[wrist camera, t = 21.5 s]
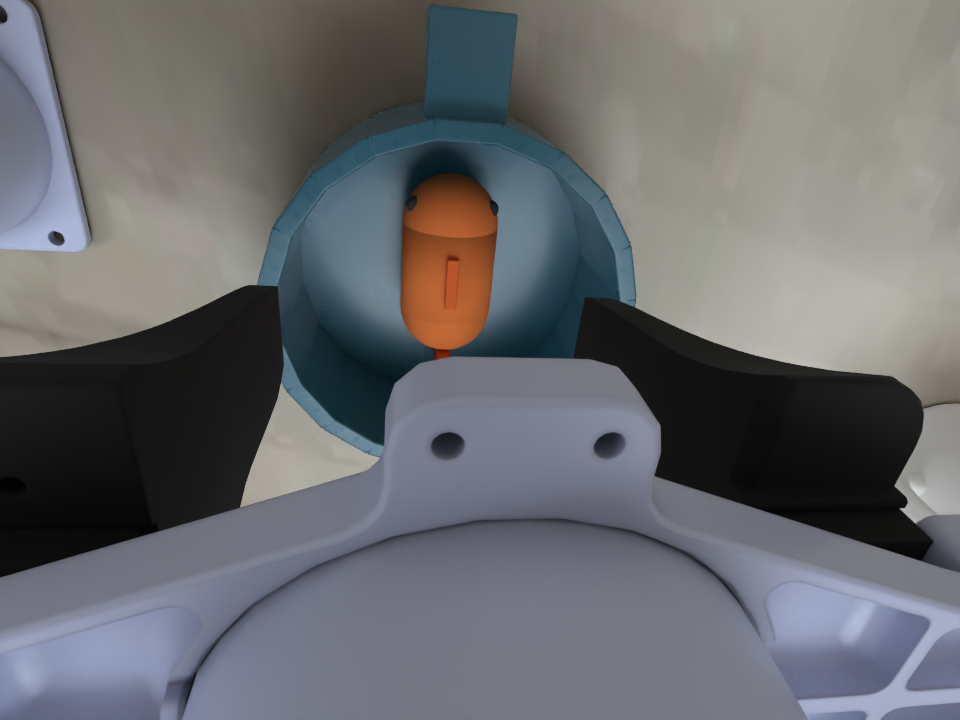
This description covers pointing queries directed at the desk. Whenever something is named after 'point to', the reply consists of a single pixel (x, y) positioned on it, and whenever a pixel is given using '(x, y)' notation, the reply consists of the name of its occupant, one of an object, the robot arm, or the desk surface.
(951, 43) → the desk surface
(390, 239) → the pan
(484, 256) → the fish
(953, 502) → the mug
